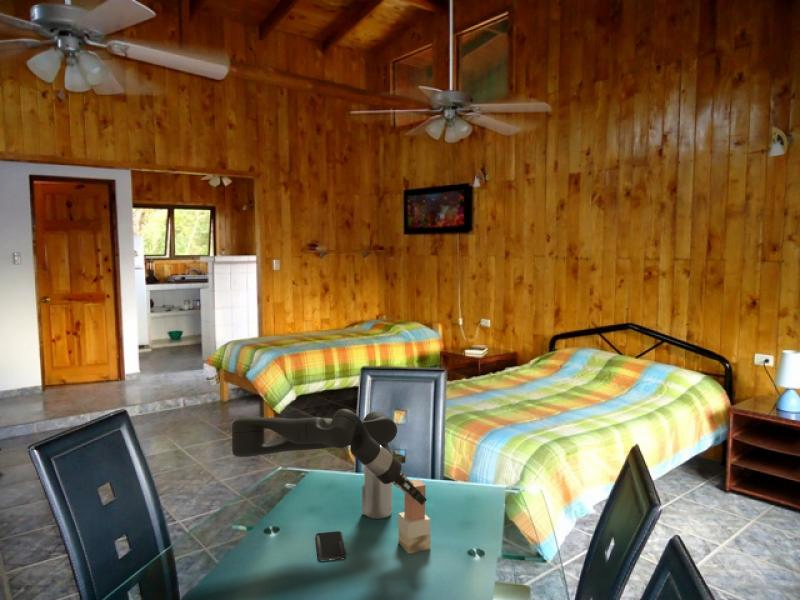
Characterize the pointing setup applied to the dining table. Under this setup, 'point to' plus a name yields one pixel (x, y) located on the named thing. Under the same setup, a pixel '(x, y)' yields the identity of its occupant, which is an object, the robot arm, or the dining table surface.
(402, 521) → the tower top
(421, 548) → the tower base
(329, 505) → the dining table surface
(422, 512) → the stack block
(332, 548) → the phone
